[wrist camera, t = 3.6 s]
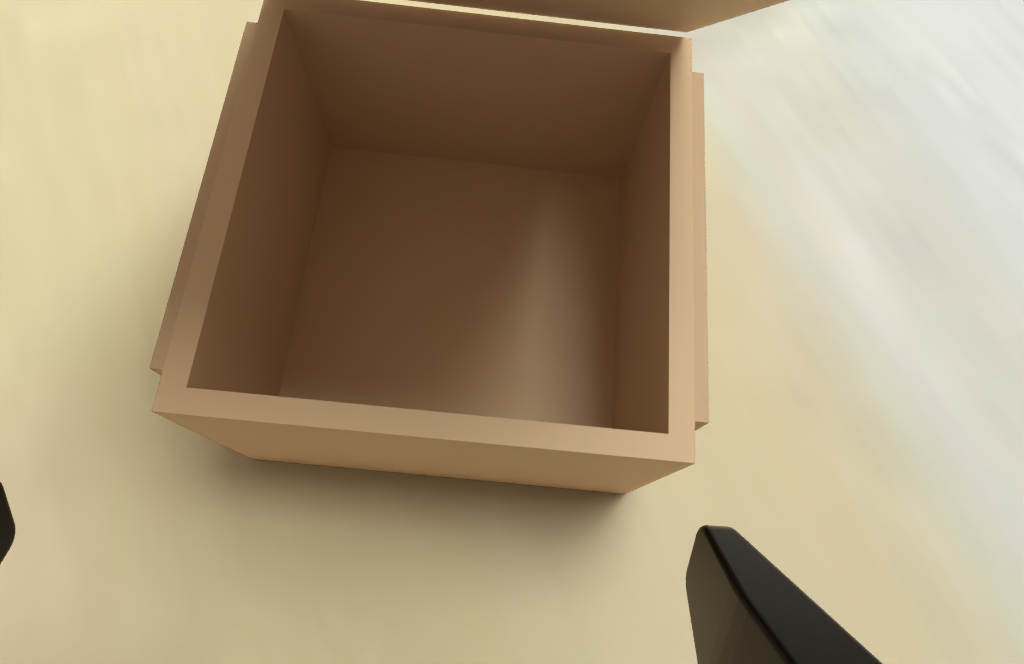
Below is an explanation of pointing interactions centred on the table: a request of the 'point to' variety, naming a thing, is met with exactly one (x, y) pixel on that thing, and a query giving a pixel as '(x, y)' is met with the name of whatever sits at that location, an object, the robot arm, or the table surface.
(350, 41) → the carton
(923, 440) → the table surface
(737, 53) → the table surface
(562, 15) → the carton flap
